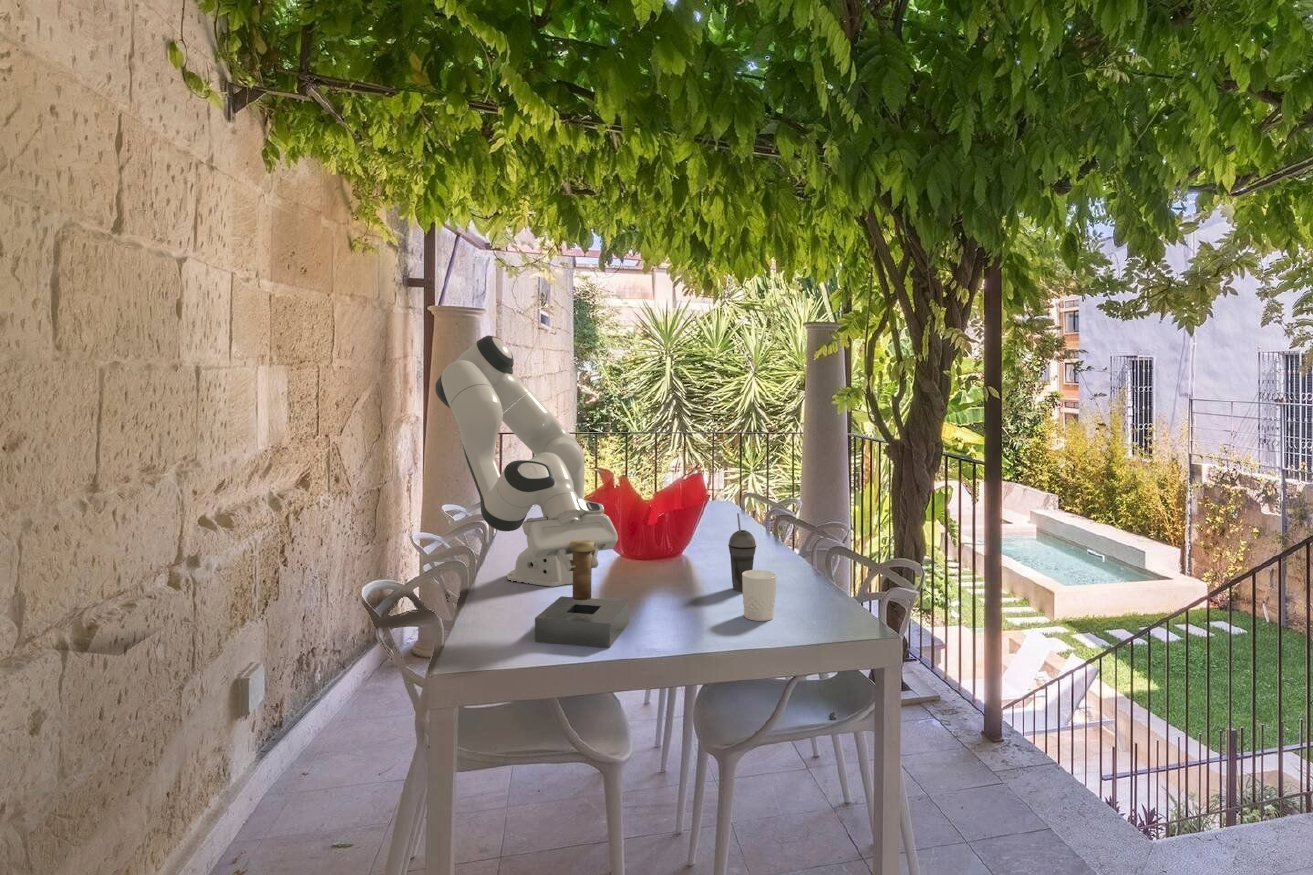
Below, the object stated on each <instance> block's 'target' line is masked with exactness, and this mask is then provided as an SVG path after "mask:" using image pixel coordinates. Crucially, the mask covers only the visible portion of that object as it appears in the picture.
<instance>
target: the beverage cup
mask: <svg viewBox="0 0 1313 875" xmlns="http://www.w3.org/2000/svg"><path fill="white" fill-rule="evenodd" d="M736 515H737V525H738V526H737V527H738V530H736V531H734V533H732V535H731V536H730V537H729V540H728V545H727V546H728V549H729V555H730V566H731V567H730V568H731V570H730V571H731V583H732V590H733V591H736V592H741V593H743V586H742V573H743V572H745V571H749V570H754V569H753V568H754V567H753V566H754V561H755V560H754V558H755V554H756V549H757V548H756V547H757V543H756V540H755V537H754V535H753V534H752V533H751V532H749V531H748V530H746V529H742V528H741V519H740V513H736Z"/></svg>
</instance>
